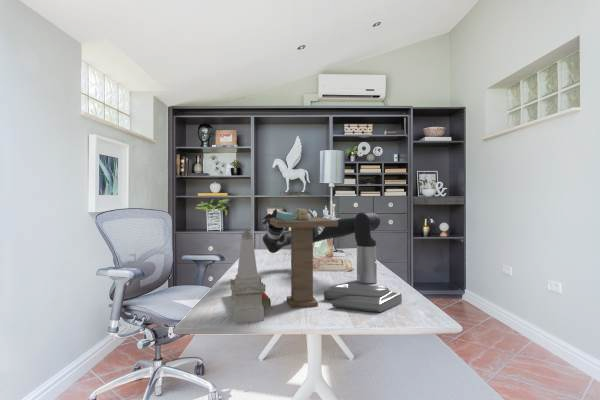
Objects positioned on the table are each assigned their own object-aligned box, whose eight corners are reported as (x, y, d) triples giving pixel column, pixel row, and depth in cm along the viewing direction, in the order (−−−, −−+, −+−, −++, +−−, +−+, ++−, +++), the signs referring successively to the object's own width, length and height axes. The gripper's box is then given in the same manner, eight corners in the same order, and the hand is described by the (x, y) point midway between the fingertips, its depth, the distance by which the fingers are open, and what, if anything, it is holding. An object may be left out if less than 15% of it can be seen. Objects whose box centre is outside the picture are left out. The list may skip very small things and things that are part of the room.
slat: (275, 217, 150) (275, 211, 150) (282, 216, 151) (282, 211, 151) (285, 221, 123) (285, 214, 123) (293, 221, 123) (293, 214, 123)
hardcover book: (259, 293, 147) (259, 284, 147) (270, 308, 127) (270, 297, 127) (230, 296, 143) (230, 286, 143) (238, 312, 123) (237, 300, 123)
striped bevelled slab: (339, 301, 117) (318, 282, 144) (339, 317, 117) (318, 295, 144) (414, 296, 123) (380, 278, 150) (414, 311, 123) (380, 291, 150)
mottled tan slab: (300, 277, 189) (355, 275, 189) (300, 266, 189) (355, 264, 188) (301, 264, 217) (349, 262, 217) (301, 254, 217) (349, 252, 216)
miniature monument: (265, 321, 113) (265, 229, 113) (233, 324, 110) (232, 230, 110) (260, 311, 123) (260, 227, 123) (230, 313, 120) (230, 227, 120)
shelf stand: (269, 296, 141) (269, 208, 140) (322, 293, 145) (321, 208, 145) (277, 314, 119) (276, 210, 119) (338, 310, 124) (338, 209, 123)
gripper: (291, 235, 160) (297, 218, 145) (260, 236, 157) (264, 219, 142) (289, 221, 163) (295, 203, 149) (260, 221, 160) (263, 203, 146)
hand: (280, 211), depth 145 cm, fingers closed on slat, 3 cm apart
